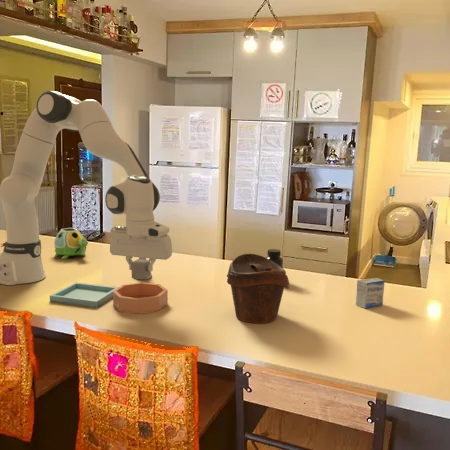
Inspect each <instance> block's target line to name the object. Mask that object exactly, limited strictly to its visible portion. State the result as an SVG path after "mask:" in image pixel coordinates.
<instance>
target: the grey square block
mask: <svg viewBox="0 0 450 450" xmlns="http://www.w3.org/2000/svg"><path fill="white" fill-rule="evenodd" d="M150 263H151V262H149V259H146V260H140V259H139V258H138V259H135V260H133V262H132V263H131V268H132V270H131V279H135V278H137V279H136V280H147V279H146V278H147V277H149V276H150V272H147V271H146V266H148V265H149V264H150Z"/></svg>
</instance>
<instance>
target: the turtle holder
mask: <svg viewBox="0 0 450 450" xmlns="http://www.w3.org/2000/svg"><path fill="white" fill-rule="evenodd" d="M88 244H89V241H88V240H87V238H85V237H84V236H83V234H82V232H80V231H79V230H78V229H77V228H75V227H67V228H61V229H60V230H59V232H58V233H57V235H56V236H55V238H54V253H55V256H56V257H60V255H62V257H61V260H68V258H69V257H71V256H82V257H84V256H86V250H87V246H88Z"/></svg>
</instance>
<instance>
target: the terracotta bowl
mask: <svg viewBox="0 0 450 450" xmlns="http://www.w3.org/2000/svg"><path fill="white" fill-rule="evenodd" d="M117 287H118V288H117V289H115V290H114V291H113V298H112V304H113V306H114V307H115V309H117V310H118V311H119V312H121V313H123V312H124V313H129V314H130V313H131V314H135V315H139V314H140V315H141V314H146V313H153V312H159V311H161V310H162V309H163V308H164V307H165V306H166V305H168V304H169V303H168V293H169V292H168V289H167V288H165V287H164V286H163V285H161V284H159V283H154V282H153V283H150V282H135V283H128V284H127V283H125V284H122V285H120V286H117Z"/></svg>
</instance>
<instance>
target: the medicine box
mask: <svg viewBox="0 0 450 450" xmlns="http://www.w3.org/2000/svg"><path fill="white" fill-rule="evenodd" d="M384 290H385V280H383V279H381V278H379V277H371V278H365V279H364V278H363V279H358V280H357V282H356V297H355V305H356V306H358V307H360V308H363V309H364V310H365V309H371V308H375V307H380V306H381V307H382V306H383V305H384V304H383V303H384V293H385V292H384Z"/></svg>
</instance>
